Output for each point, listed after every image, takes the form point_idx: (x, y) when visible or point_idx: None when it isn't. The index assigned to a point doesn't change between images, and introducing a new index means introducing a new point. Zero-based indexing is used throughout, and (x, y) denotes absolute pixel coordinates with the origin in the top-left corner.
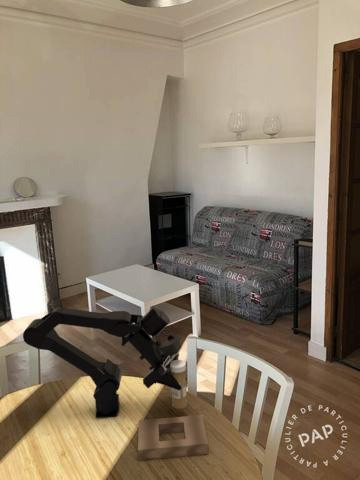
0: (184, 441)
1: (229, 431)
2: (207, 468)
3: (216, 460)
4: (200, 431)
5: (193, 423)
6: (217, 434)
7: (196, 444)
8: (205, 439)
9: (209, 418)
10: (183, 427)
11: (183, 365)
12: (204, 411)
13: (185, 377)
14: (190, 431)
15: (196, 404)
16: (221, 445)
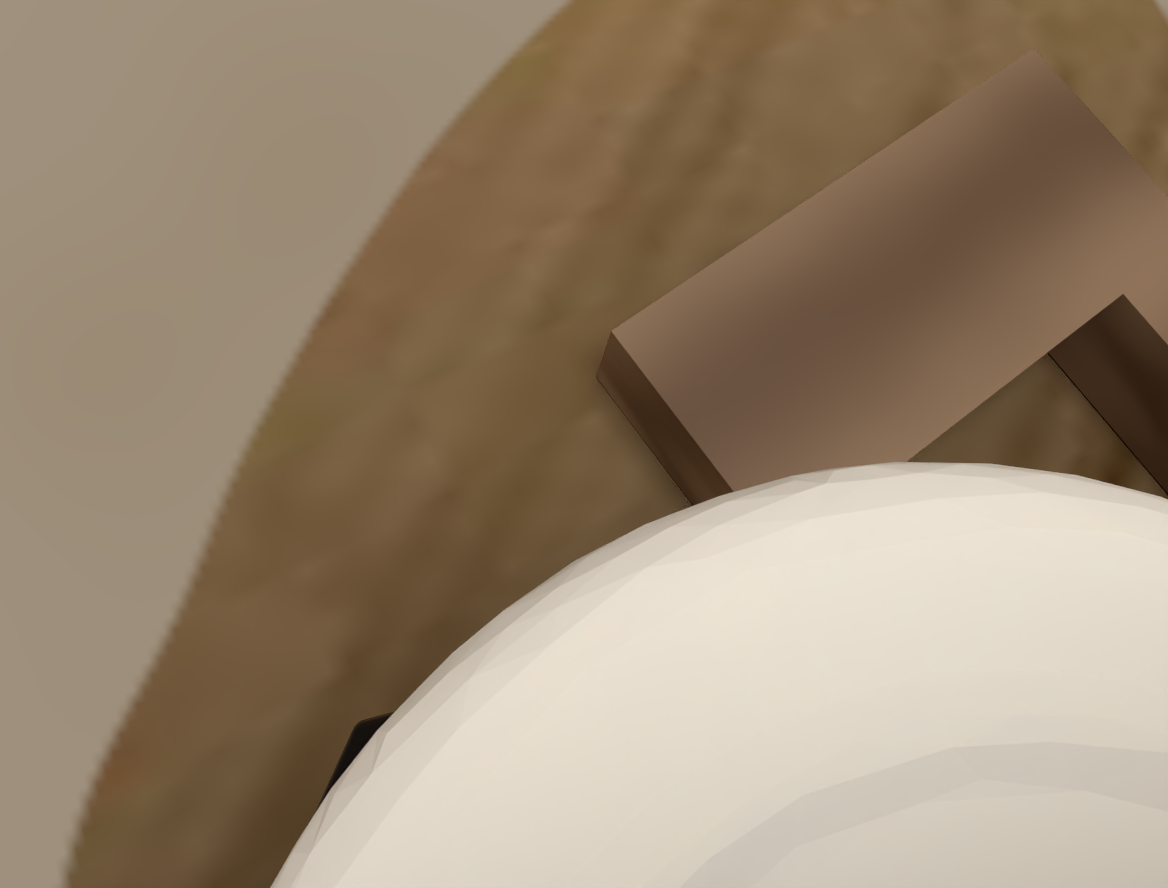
0: (1164, 287)
1: (559, 69)
2: (1117, 62)
3: (990, 32)
4: (909, 203)
5: (833, 347)
6: (667, 158)
7: (1119, 147)
8: (993, 96)
9: (453, 351)
10: None
11: (1066, 493)
12: (348, 472)
13: (349, 764)
14: (983, 307)
15: (243, 651)
16: (793, 64)
